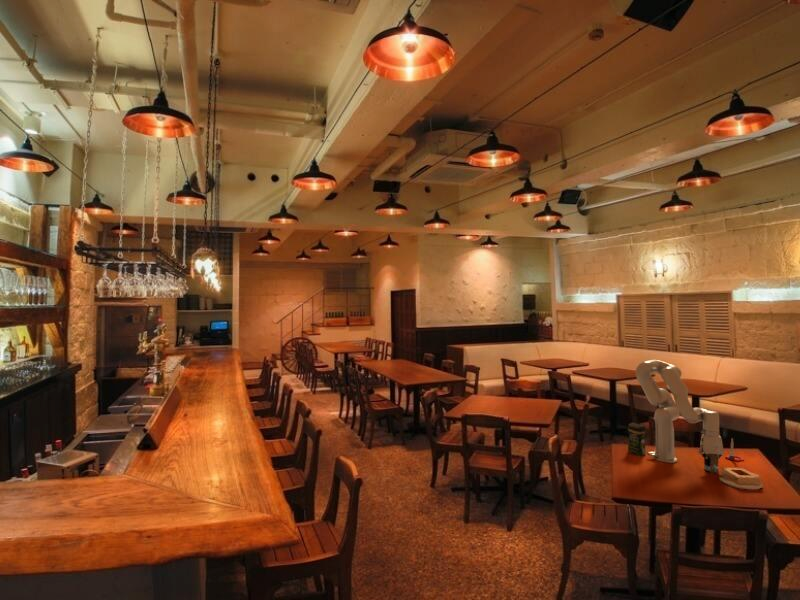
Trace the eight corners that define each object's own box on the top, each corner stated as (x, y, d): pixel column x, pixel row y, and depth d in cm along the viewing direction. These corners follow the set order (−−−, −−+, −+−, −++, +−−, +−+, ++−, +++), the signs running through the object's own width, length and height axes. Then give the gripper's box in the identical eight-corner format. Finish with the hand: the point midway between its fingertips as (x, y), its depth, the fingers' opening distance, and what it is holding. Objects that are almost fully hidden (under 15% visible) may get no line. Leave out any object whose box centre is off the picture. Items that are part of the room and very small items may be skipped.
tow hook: (730, 456, 279) (723, 458, 274) (731, 435, 279) (723, 436, 274) (746, 460, 272) (739, 462, 267) (747, 438, 272) (739, 440, 267)
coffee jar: (625, 452, 286) (625, 422, 286) (633, 450, 290) (633, 421, 290) (640, 456, 278) (639, 426, 278) (648, 454, 281) (647, 424, 281)
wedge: (711, 473, 251) (710, 455, 251) (704, 469, 257) (704, 451, 257) (718, 473, 251) (718, 455, 251) (711, 469, 257) (711, 451, 257)
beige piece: (734, 490, 230) (734, 479, 230) (711, 475, 248) (711, 465, 248) (771, 490, 229) (771, 479, 229) (745, 476, 247) (745, 466, 247)
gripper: (699, 435, 251) (699, 468, 251) (731, 435, 250) (731, 468, 250) (691, 431, 258) (691, 463, 259) (722, 431, 257) (722, 463, 258)
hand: (711, 465), depth 254 cm, fingers closed on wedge, 4 cm apart
